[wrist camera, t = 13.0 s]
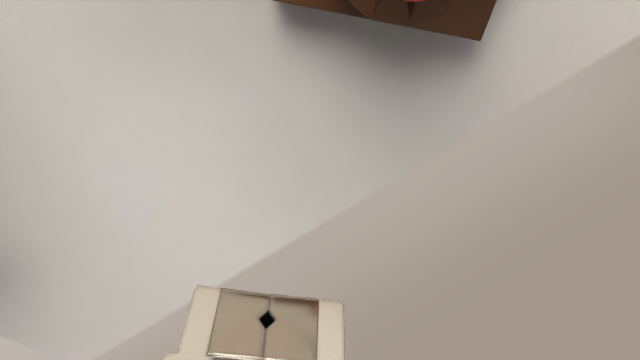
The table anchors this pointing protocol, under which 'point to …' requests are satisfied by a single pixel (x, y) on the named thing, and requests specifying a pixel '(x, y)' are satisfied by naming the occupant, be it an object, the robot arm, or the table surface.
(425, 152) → the table surface
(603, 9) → the table surface
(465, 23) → the button block
